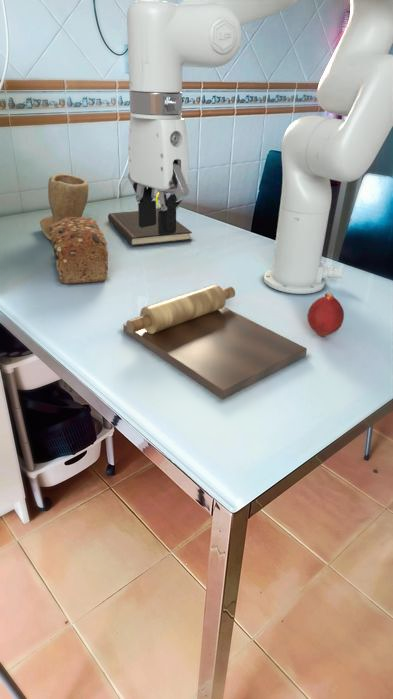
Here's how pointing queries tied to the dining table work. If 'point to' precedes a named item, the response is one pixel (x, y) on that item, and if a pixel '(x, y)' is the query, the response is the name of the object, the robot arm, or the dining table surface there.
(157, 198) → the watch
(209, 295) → the rolling pin
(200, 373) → the pastry board
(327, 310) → the onion
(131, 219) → the hardcover book
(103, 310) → the dining table surface
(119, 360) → the dining table surface
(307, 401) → the dining table surface
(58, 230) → the bread
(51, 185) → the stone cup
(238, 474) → the dining table surface
